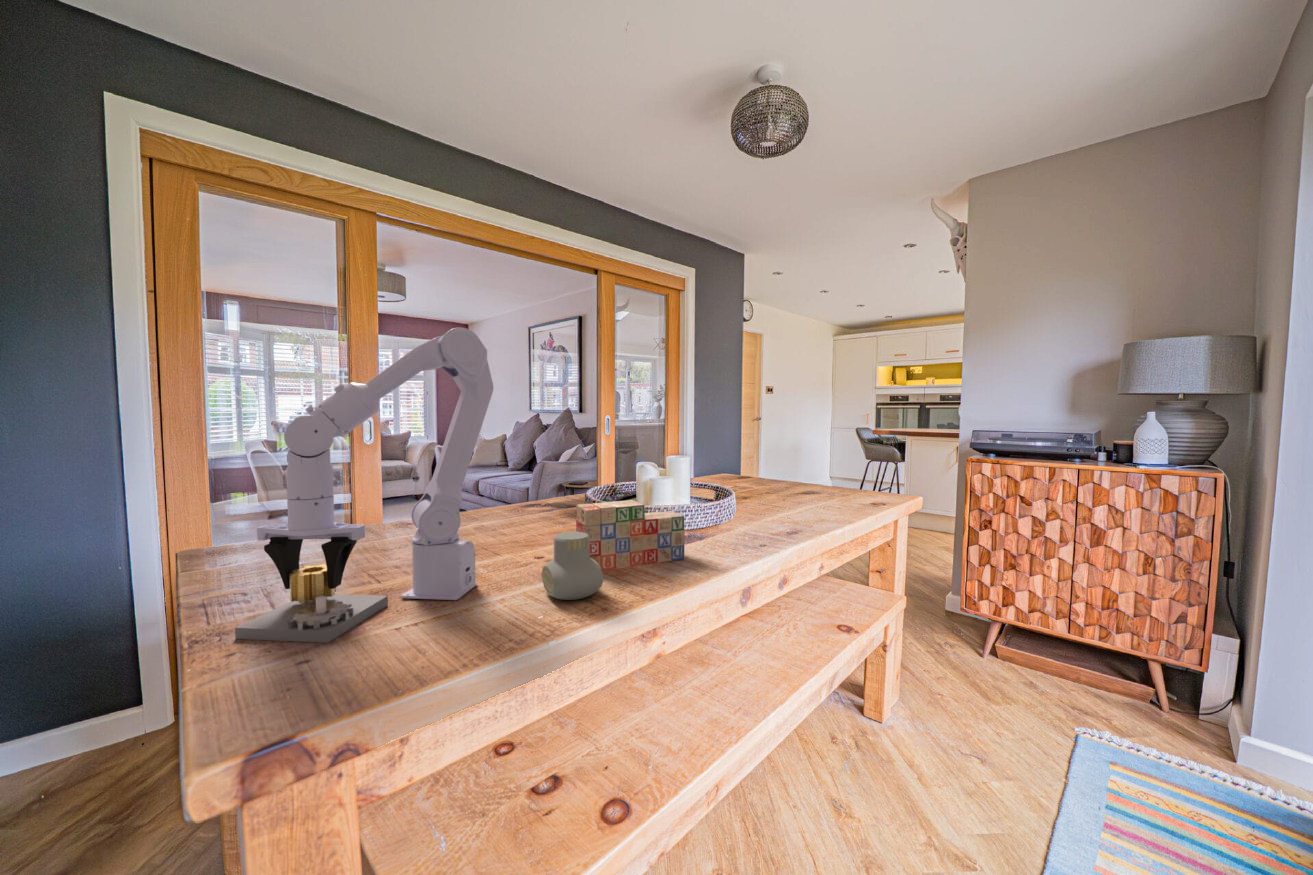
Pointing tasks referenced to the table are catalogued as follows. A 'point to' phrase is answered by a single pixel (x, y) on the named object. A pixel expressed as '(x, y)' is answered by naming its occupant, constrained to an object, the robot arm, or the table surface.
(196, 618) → the table surface
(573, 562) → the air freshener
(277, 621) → the gear board
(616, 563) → the stack of blocks
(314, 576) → the brass gear
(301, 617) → the gear
